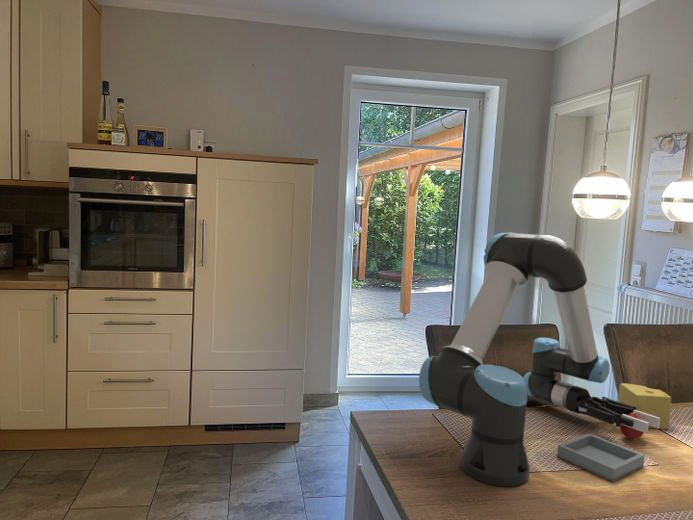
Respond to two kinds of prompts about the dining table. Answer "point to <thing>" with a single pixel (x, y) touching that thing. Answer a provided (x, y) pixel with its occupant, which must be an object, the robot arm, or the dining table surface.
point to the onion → (631, 429)
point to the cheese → (647, 402)
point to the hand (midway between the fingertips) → (653, 425)
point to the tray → (601, 456)
